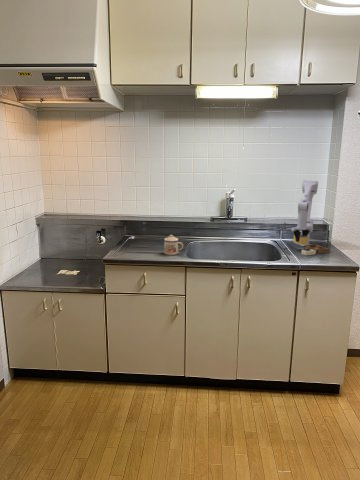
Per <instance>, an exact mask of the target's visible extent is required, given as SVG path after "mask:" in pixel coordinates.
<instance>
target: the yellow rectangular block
mask: <svg viewBox="0 0 360 480" xmlns="http://www.w3.org/2000/svg"><path fill="white" fill-rule="evenodd" d="M307 239H308V237H307V236H305V235H302V234H300V237H299V242H297V241H296V238H295V235H294V234H293V243H294V244H295V243H297V244H296V245H298V244H300V245H299V246H301V245H307Z"/></svg>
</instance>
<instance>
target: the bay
mask: <svg viewBox="0 0 360 480" xmlns="http://www.w3.org/2000/svg"><path fill="white" fill-rule="evenodd" d="M300 254H301V255H304V256H311V255H312V256H313V255H316V254H317V253H316V250H313V249H310V250H306V249H301V252H300Z"/></svg>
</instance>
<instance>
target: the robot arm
mask: <svg viewBox="0 0 360 480" xmlns="http://www.w3.org/2000/svg"><path fill="white" fill-rule="evenodd" d="M301 183H302V184H301V191H302V194H301V197H300V200H299V202H298V204H297V222H296V223H297V225H296V226H294V227H291V230H290V231H291V232H292V233H293V236H294V235H295V238H296V241H297V242H299V237H300V234H302V235H305V236H307V237H308V239H307V245H312V243H310V238H311V233H312V232H313V231H314V221H313V219H311V218H310V217H311V211H312V204H313V198H314V196H315V195H316V194H318V187H319V181H318V180H305V179H304V180H302V182H301ZM294 244H295V245H297V246H301V247H304V246H305V245H300V244H297V243H294Z"/></svg>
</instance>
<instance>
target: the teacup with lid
mask: <svg viewBox="0 0 360 480" xmlns="http://www.w3.org/2000/svg"><path fill="white" fill-rule="evenodd" d="M163 241H164V243H163V245H164V247H163V249H164V254H165V255H167V256H175V255H178V254H179V251H181V250H182V249H183V247H184V244H183V243H182V241H181V242H179V241H180V240H179V238H178V237H175V236H174V235H173V234H169V236H167V237H165V238H164V239H163ZM179 244H180V245H181V248H179Z"/></svg>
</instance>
